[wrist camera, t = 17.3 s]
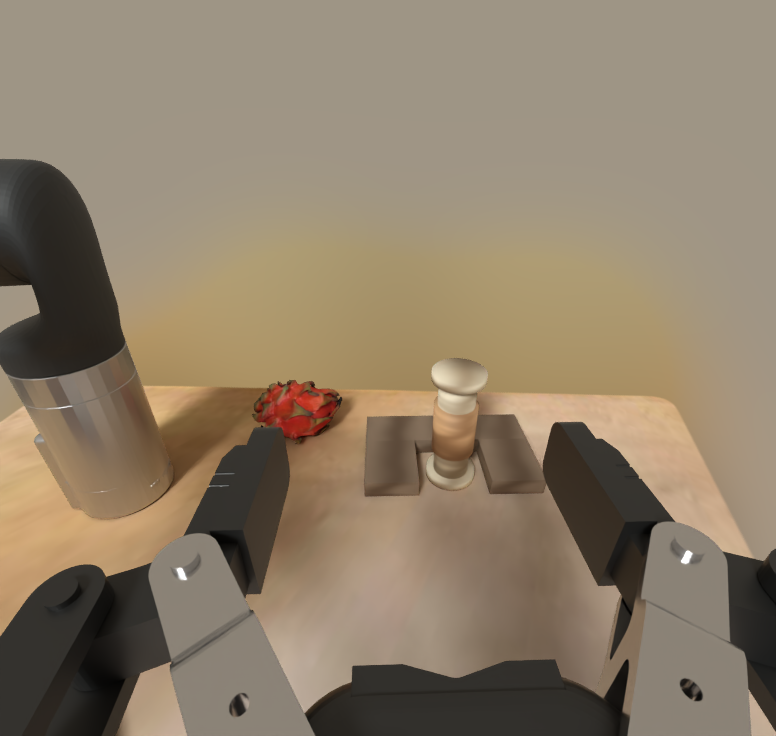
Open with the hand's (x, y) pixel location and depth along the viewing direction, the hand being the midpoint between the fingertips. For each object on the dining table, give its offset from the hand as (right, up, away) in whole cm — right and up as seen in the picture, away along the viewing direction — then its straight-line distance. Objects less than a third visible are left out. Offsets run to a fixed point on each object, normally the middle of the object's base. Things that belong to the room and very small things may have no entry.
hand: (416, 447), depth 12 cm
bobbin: (+6, -10, +35) cm, 37 cm away
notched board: (+6, -9, +37) cm, 39 cm away
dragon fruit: (-13, -6, +42) cm, 45 cm away
